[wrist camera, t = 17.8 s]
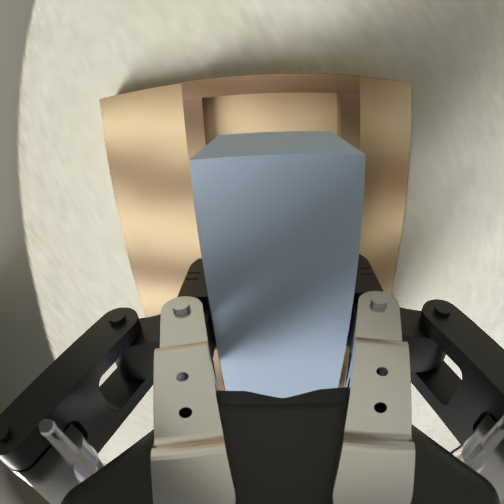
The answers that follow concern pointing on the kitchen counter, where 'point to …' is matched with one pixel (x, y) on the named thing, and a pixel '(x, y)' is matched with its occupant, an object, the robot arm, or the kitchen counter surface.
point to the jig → (235, 122)
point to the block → (279, 255)
